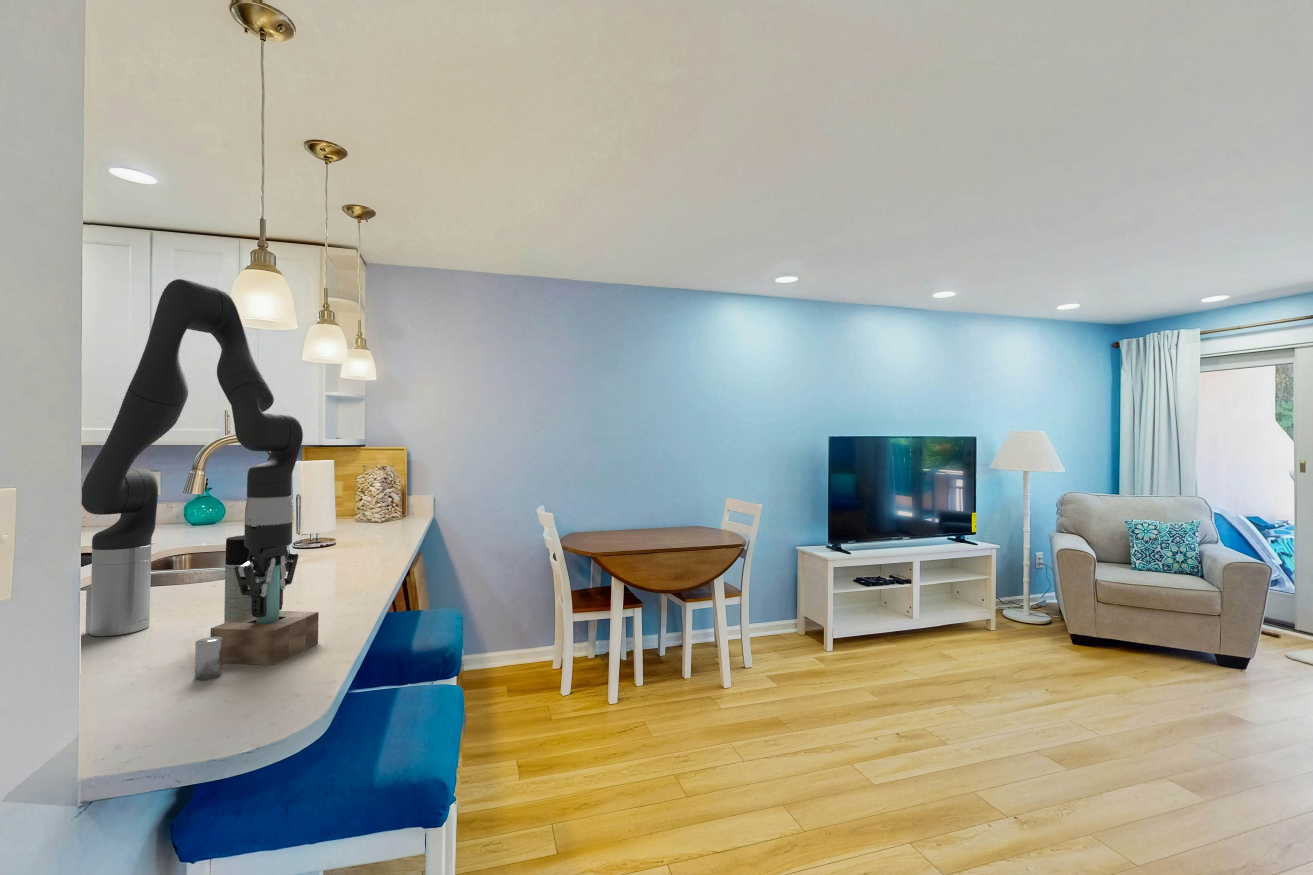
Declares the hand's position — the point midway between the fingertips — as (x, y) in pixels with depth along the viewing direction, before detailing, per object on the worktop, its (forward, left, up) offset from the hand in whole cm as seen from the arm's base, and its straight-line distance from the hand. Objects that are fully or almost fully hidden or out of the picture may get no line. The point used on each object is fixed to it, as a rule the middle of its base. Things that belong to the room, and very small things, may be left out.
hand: (267, 613), depth 113 cm
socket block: (0, 0, -7) cm, 7 cm away
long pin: (0, 0, -5) cm, 5 cm away
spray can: (-11, +8, -7) cm, 16 cm away
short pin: (-1, -12, -7) cm, 14 cm away
